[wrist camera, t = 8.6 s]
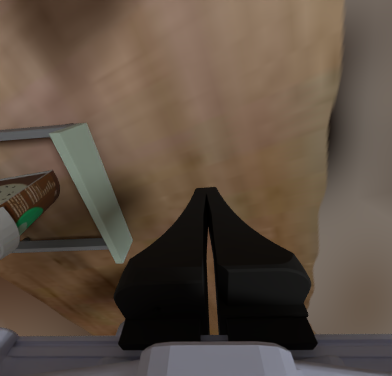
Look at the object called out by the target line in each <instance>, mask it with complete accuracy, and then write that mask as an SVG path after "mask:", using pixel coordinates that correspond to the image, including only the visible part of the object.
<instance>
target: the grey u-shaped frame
mask: <svg viewBox="0 0 392 376" xmlns="http://www.w3.org/2000/svg"><path fill="white" fill-rule="evenodd" d="M43 137H51V139H52V141H53V143H54V145H55V147H56V149H57V151H58V153H59V154H60V156H61V158H62V160H63V162H64V164H65V166H66V168H67V170H68V172H69V174H70V176H71V178H72V179H73V181H74V183H75V185H76V187H77V189H78V191H79V193H80V195H81V197H82V199H83V201H84V203H85V204H86V206H87V208H88V210H89V212H90V214H91V216H92V218H93V220H94V222H95V224H96V226H97V228H98V229H99V231H100V233H101V235H102V237H103V238H91V239H67V240H43V241H31V240H30V239H29V238H25V239H23V240H22V241H20V242H19V245H18V247H17V248H16V249H15V250H14V251H13V252H11V253H24V252H50V251H77V250H104V249H109V251H110V253H111V254H112V256H113V258H114V260H115V262H116V263H123V262H124V260H125V258H126V255H127V253H128V251H129V248H130V246H131V243H132V241H133V240H132V237H131V234H130V232H129V229H128V227H127V224H126V222H125V219H124V217H123V214H122V212H121V209H120V207H119V204H118V201H117V199H116V196H115V194H114V191H113V189H112V186H111V184H110V181H109V179H108V176H107V173H106V171H105V168H104V166H103V163H102V161H101V158H100V156H99V153H98V151H97V148H96V146H95V143H94V140H93V138H92V135H91V133H90V130H89V128H88V125H87V123H78V124H74V123H71V124H65V125H54V126H42V127H30V128H18V129H6V130H0V141H5V140H17V139H30V138H43Z"/></svg>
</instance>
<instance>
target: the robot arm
mask: <svg viewBox="0 0 392 376" xmlns="http://www.w3.org/2000/svg"><path fill="white" fill-rule="evenodd" d="M208 227H209V234H210V240H211V246H212V252H213V259H214V271H215V286H216V300H217V314H218V329H219V335H210V332H209V309H208V286H207V262H206V260H207V237H208ZM310 287H311V281H310V278H309V276H308V275H307V273H306V271H305V269H304V268H303V266H302V265H301V263H300V262H299V260H298V259H297V258H296V256H295V255H294V254H293V253H292V252H290V251H288V250H286V249H284V248H282V247H280V246H279V245H277V244H275V243H273V242H271V241H270V240H268V239H267V238H265V237H263V236H262V235H260V234H259V233H258V232H256V231H255V230H253V229H252V228H251V227H249V226H248V225H247V224H246V223H245V222H244V221H242V220H241V219H240V218H239V217H238V216H237V215H236V214H235V213H234V212H233V210H232V209H231V208H230V207H229V206H228V205H227V203H226V202H225V201H224V199H223V198H222V196H221V195H220V193H219V192H218V190H217V188H216V187H209V188H196V189H195V192H194V194H193V196H192V198H191V200H190V202H189V203H188V205H187V207H186V208H185V210H184V211H183V213H182V214H181V215H180V217H179V218H178V219H177V220H176V222H175V223H174V224H173V225H172V226H171V227H170V228H169V229H168V230H167V231H166V232H165V233H164V234H163V235H162V236H161V237H160V238H159V239H157V240H156V241H155V242H154V243H153V244H151V245H150V246H149V247H147V248H146V249H144V250H143V251H142V252H140V253H139V254H137V255H136V256H134V257H133V258H131V259H130V260H129V262H128V264H127V266H126V267H125V269H124V271H123V273H122V276H121V278H120V281H119V283H118V285H117V288H116V290H115V293H114V300H115V303H116V305H117V306H118V308H119V309H120V311H121V312H122V314H123V316H124V317H125V321H124V322H122V323H121V324H120V326H119V328H118V330H117V333H116V336H18V334H16V333H15V332H14V331H12V330H10V329H7V328H0V376H392V334H314V333H313V331H312V329H311V326H310V324H309V322H308V320H307V318H306V317H308V312H307V310H306V308H305V305H304V301H305V299H306V297H307V295H308V293H309V290H310Z"/></svg>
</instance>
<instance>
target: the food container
mask: <svg viewBox="0 0 392 376" xmlns="http://www.w3.org/2000/svg"><path fill="white" fill-rule="evenodd" d="M59 192H60V185H59V182H58V179H57V177H56V175H55V173H54V171H53V170H51V171H45V172H39V173H33V174H28V175H22V176H16V177H10V178H4V179H0V260H1V259H2V258H4V257H5V256H7V255H8V254H10V253H11V252H13V251H14V250H15V249H16V248H17V247H18V245H19V242H20V235H21V234H22V233H23V232H24V231H25V230H26V229H27V228H28V227H29V226H30V225H31V224H32V223H33V222H34V221H35V220H36V219H37V218H38V217H39V216H40V215H41V214H42V213H43V212H44V211H45V210H46V209H47V208H48V207H49V206H50V205H51V204H52V203H53V202H54V201H55V200H56V199H57V198H58V196H59Z"/></svg>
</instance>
